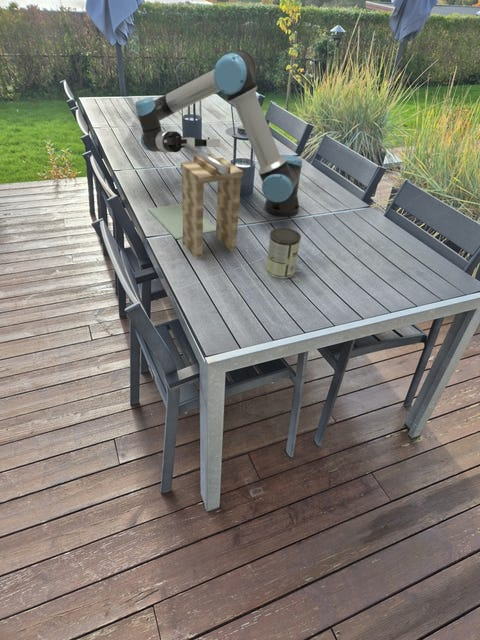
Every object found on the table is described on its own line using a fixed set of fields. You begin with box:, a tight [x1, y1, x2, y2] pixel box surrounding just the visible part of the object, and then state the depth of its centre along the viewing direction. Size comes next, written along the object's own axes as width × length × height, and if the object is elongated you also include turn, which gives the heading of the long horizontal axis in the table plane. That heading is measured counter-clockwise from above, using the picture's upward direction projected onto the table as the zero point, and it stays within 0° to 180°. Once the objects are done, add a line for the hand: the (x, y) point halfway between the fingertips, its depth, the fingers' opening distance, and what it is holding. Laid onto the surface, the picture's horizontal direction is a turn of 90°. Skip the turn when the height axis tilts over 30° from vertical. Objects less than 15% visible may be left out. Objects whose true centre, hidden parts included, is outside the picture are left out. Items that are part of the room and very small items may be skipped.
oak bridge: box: [180, 152, 244, 260], centre depth 153 cm, size 14×16×32 cm
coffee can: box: [265, 227, 302, 279], centre depth 150 cm, size 10×10×14 cm
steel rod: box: [183, 143, 229, 175], centre depth 146 cm, size 24×3×3 cm, turn 34°
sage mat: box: [148, 202, 216, 240], centre depth 179 cm, size 28×18×1 cm, turn 31°
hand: (206, 142), depth 158 cm, fingers open, 11 cm apart
